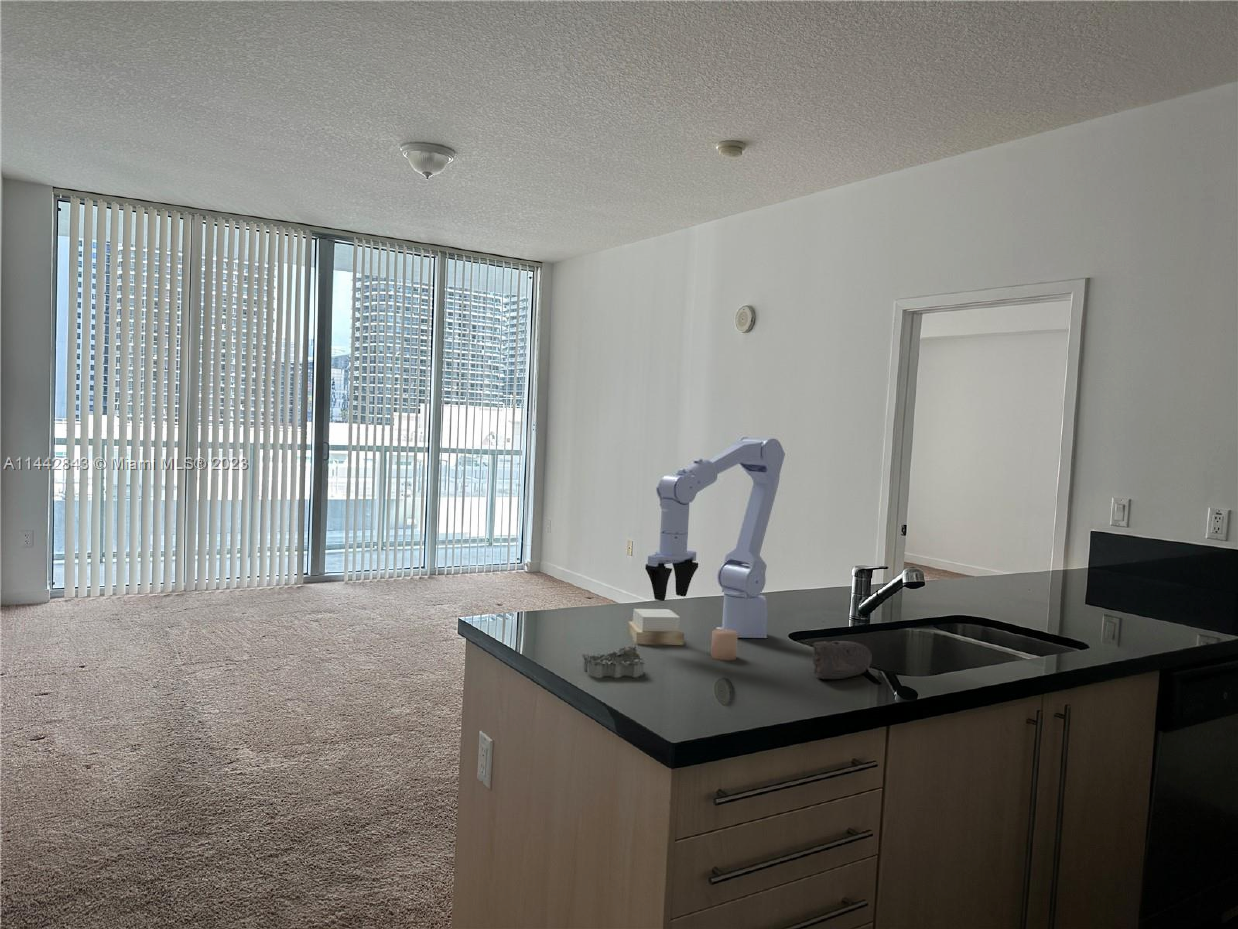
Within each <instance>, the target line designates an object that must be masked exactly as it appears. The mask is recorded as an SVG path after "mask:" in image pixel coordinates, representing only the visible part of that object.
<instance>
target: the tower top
mask: <svg viewBox="0 0 1238 929" xmlns="http://www.w3.org/2000/svg"><path fill="white" fill-rule="evenodd" d="M632 613H633V614H632V621H633V623H634V624H635V625H636V626H637V627H638V628H639V629H640V630H641V631H664V632H679V628H680V625H681V617H680V616H679V615H678V614H676V613H675V612H674V611H672V610H671V609H668V608H667V609H666V608H661V609H660V608H633V612H632Z"/></svg>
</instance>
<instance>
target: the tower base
mask: <svg viewBox="0 0 1238 929" xmlns="http://www.w3.org/2000/svg"><path fill="white" fill-rule="evenodd" d="M627 633H628V635H629V636H630V638H631V639H632V641H633V642H634V643H635V644H636V645H661V646H663V645H664V646H665V645H666V646H668V645H669V646H671V645H672V646H677V645H679V646H682V645H683V646H684V644H685V643H684V642H685V640H684V639H685V633H684V631H683V630H682V629H681V628H680V627H679V632H664V631H641V630H640V629H639V628H638V627H637V626H636V625H635V624H634V623H633V620H631V621H630V620H629V621H628V622H627Z"/></svg>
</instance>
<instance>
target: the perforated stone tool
mask: <svg viewBox="0 0 1238 929" xmlns="http://www.w3.org/2000/svg"><path fill="white" fill-rule="evenodd" d="M812 644H813V646H812V649H813V653H812V659H811V661H812V664H813V666H814V670H813V673H814V675H815V676H816V677H817V678H820V679H821V680H841V679H848V678H852V677H857V676H859V675H862V674H863V673H865V672H866V671H867V670H868V669H869V668H870V666H871V663H872V659H873V658H872V656H873V655H872V651H871V650H870V648H868V646H866V645H864V644H862V643H860V642H854V641H848V640H834V641H817V642H814V643H812Z"/></svg>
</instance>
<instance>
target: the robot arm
mask: <svg viewBox="0 0 1238 929" xmlns="http://www.w3.org/2000/svg"><path fill="white" fill-rule="evenodd" d="M785 455H786V453H785V451H784V448H783V446H782V444H781V442H780V441H779V440H778V439H776V438H774V437H773V438H772V437H771V438H757V437H756V438H755V437H754V438H753V437H748V436H746V437H745V436H744V437H741V438H738V439H737V440H734V441H733V442H732V445H731V446H728V447H727V448H726V449H723V450H722V451H721V452H720V453H718V454H717V455H715V456H714V457H712V458H711V459H706V458H695V459H693V463H692V464H689V466H686V467H685V468H681V467H680V468H679V469H678V470H677V472H676V473H675V474H665V475H664V476H663V477H662V478H661V479H660V481H659V482H658V486H656V487H655V488H656V489H655V490H656V495H657V497H658V499H659V507H660V509H661V516H660V530H659V531H660V533H659V549H658V550H657V551H655V553H654V554H652V555H648V556H647V563H646V564H645V568H644V569H645V571H646V573H647V575H648V577H649V579H650V582H651V583H650V584H651V588H652V593H653V597H654V600H656V601H660V602H663V601H664V602H665V599H666V596H667V590H668V584H669V579H670V576H671V574H672V572H673V573H674V577H675V581H674V582H675V595H676V596H679V597H683V598H684V597H687V594H688V592H689V588H690V584H691V582H692V578H693V576H694V575H695V573H696V571H697V570H698V569H699V562H696V561H697V551H693V550H688V535H689V520H690V503H692V502H693V501H694V500H695V499H696V497H697V494H698V493H699V492H701V491H702V490H704V489H706V488H707V487H709V486H711V485H712V484H714V483H715V482H716V481H717V480H718V475H719V474H721V473H723V472H725V471H727V470H729V469H731V468H733V467H735V466H737V465H740V466H741V468H742V469H743V471H745V472H746V474H747V475H748V476H749V477H750V478H751V480H752V482H753V483H752V488H751V491H750V494H749V498H748V502H747V506H746V510H745V514H744V516H743V521H742V524H741V528H740V531H739V535H738V539H737V542H736V547H735V548H734V549H733V550H730V552H729V553H727V554H726V555H725V557H724V560H723V562H722V564H721V566H720V567H719V569H718V572H717V582H718V585H719V586H720V587H721V593H723V604H722V605H723V606H722V626H717V627H716V628H715V629H727V630H733V631H736V632H737V633H738V635H737V639H738V638H741V639H742V638H747V639H748V638H750V639H751V638H752V639H757V638H758V639H767V638H768V635H767V624H768V601H767V598H766V596H764V595H761V593H762V592H763V590H764V588H765V585H766V571H767V567H768V566H767V564H766V562H765V561H764V560H763V558H762V557H761V551H762V546H763V543H764V540H765V536H766V532H767V528H768V525H769V524H768V523H769V521H770V518H771V514H772V510H773V505H774V502H775V498H776V496H777V491H778V488H779V483H780V478H781V475H780V474H781V471H782V467H783V463H784V460H785ZM669 564H672V567H673V568H670V567H667V566H666V565H669Z"/></svg>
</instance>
